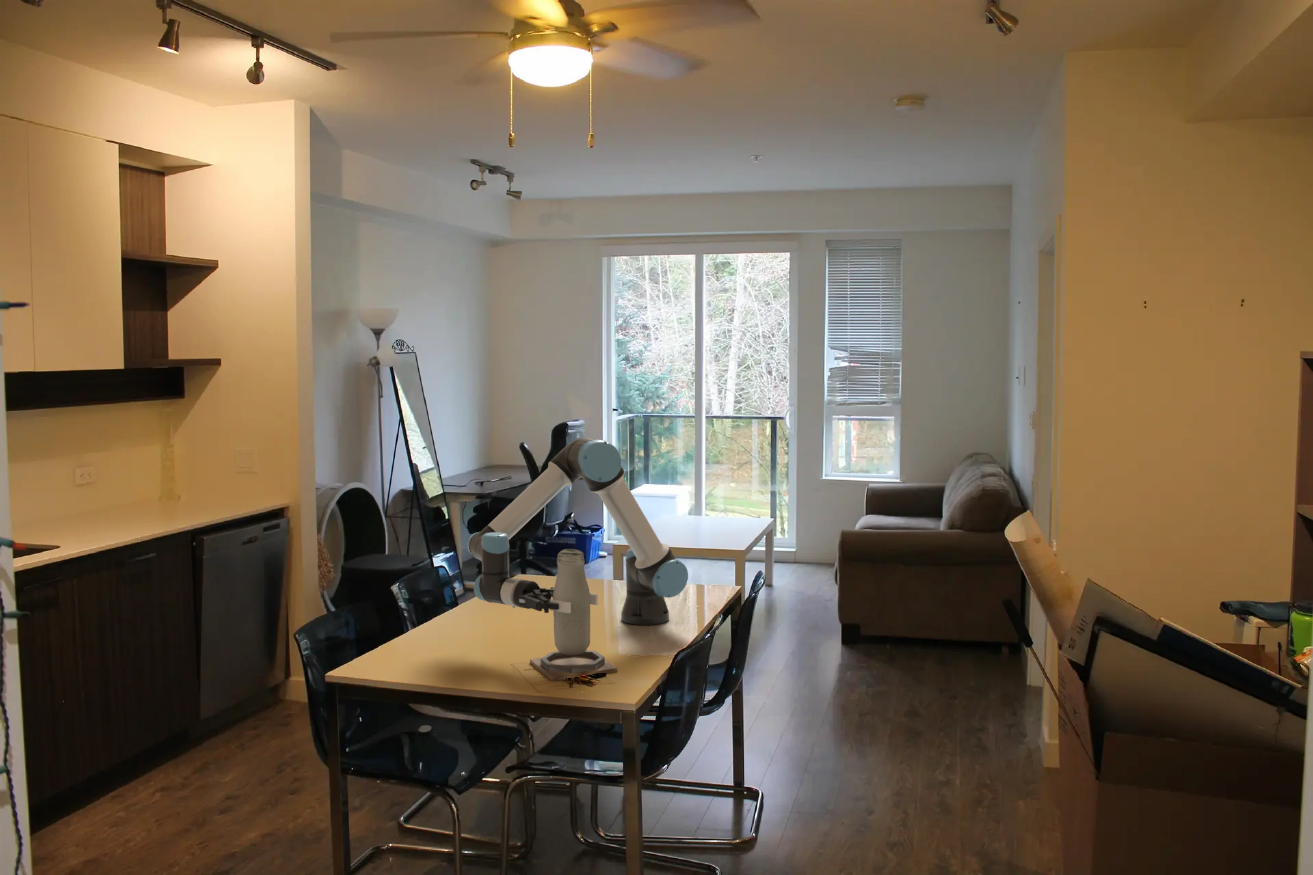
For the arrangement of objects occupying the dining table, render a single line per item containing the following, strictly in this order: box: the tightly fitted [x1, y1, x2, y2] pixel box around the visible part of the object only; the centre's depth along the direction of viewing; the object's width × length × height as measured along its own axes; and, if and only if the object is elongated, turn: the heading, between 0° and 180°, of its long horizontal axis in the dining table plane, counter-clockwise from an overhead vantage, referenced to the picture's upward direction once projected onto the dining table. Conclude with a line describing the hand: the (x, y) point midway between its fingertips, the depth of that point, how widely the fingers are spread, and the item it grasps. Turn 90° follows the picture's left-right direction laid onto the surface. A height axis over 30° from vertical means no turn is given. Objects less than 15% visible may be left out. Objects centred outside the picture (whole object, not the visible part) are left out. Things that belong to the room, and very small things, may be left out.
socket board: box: [529, 650, 618, 682], centre depth 260 cm, size 18×18×2 cm
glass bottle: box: [552, 548, 591, 655], centre depth 259 cm, size 10×10×28 cm
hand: (583, 603), depth 256 cm, fingers closed on glass bottle, 10 cm apart
